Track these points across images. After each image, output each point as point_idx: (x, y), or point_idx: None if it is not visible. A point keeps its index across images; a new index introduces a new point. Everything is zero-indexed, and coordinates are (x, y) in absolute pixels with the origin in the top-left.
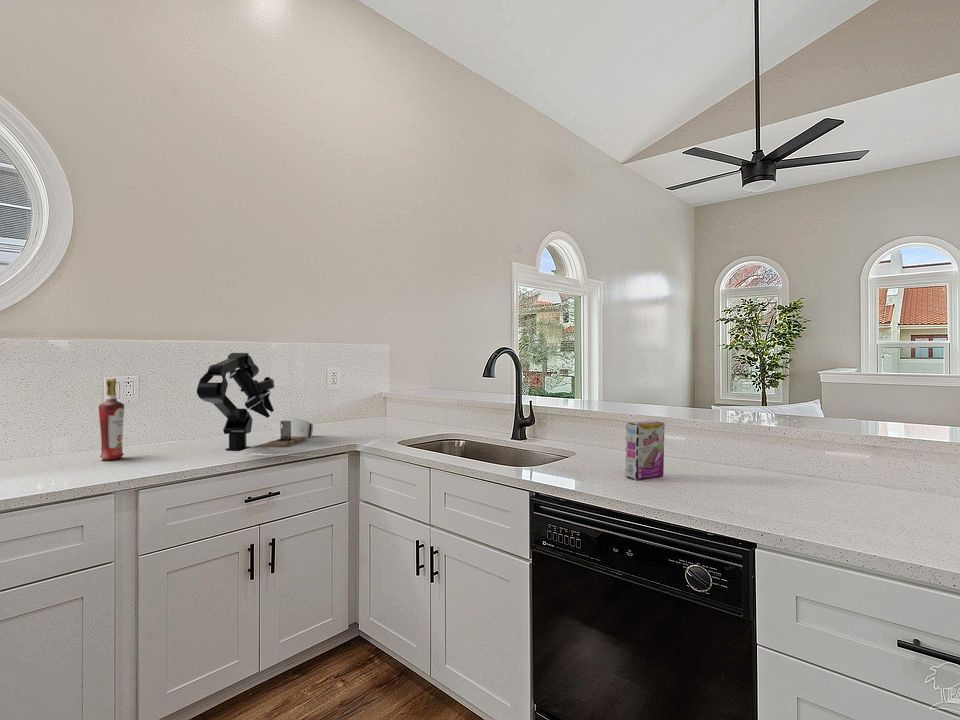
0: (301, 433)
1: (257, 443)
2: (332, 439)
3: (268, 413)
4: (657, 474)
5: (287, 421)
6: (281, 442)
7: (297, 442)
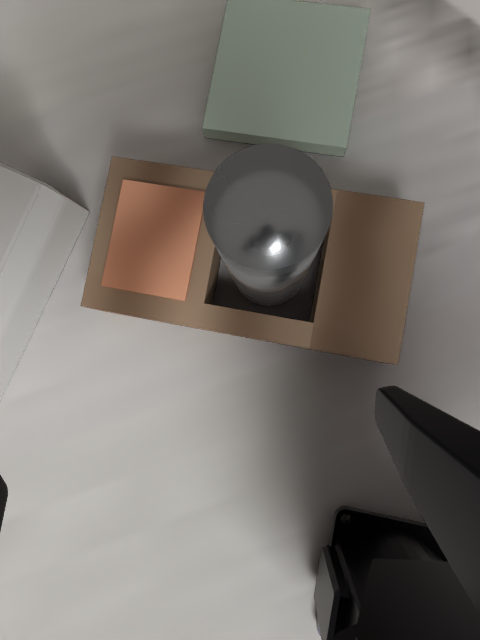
0: (3, 223)
1: (142, 521)
2: (8, 43)
3: (413, 411)
4: None
5: (301, 172)
6: (395, 250)
7: None
